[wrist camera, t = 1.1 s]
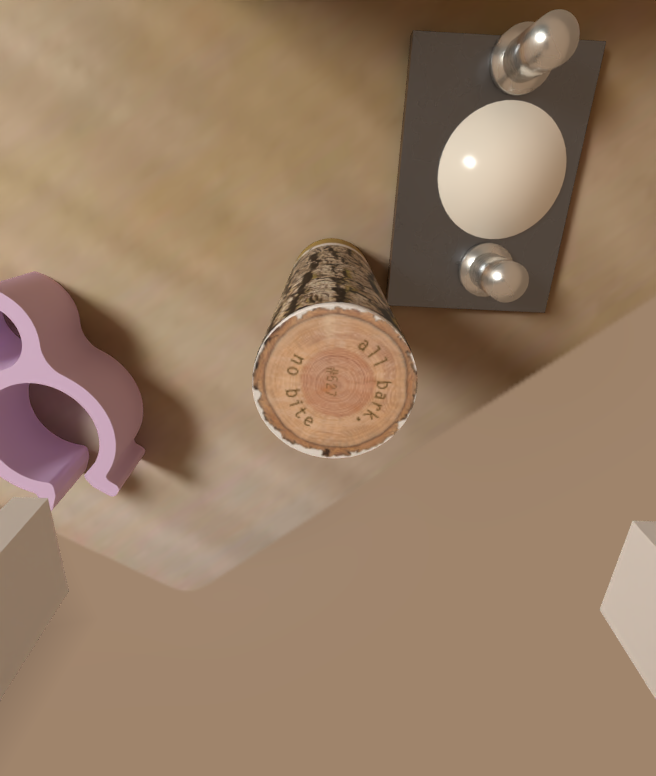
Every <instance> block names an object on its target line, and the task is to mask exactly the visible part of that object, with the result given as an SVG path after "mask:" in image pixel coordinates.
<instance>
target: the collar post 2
mask: <svg viewBox="0 0 656 776" xmlns="http://www.w3.org/2000/svg"><path fill="white" fill-rule="evenodd" d="M579 37H580V29H579V24H578V22H577V20H576V18H575V16H574V15H573V14H572V13H570V12H569V11H567V10H563V9H556V10H552V11H550V12H548V13H546V14H545V15H544V16H542V17H541V18H540V19H538V20H537V21H536V22H522V23H519V24H516V25H514V26H513V27H511V28H510V29H509V30H507V31H506V32H505V33H504V34H503V35H502V36H501V37H500V38H499V39H498V41H497V42H496V44H495V46H494V48H493V50H492V53H491V57H490V64H489V66H490V75H491V78H492V81H493V83H494V84H495V86H496V87H497V88H498V89H499V90H500V91H501V92H503V93H504V94H507V95H510V96H520V95H524V94H527V93H529V92H531V91H533V90H535V89H536V88H538V87H539V86H540V85H541V84H542V83H543V82H544V81H545V80H546V78H547V77H548V75H549V73H550V71H551V70H552V69H554V68H556V67H558V66H560V65H562V64H563V63H565V62H566V61H567V60H569V59H570V57H571V56H572V55H573V53H574V52H575V50H576V48H577V46H578V42H579Z"/></svg>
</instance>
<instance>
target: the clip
mask: <svg viewBox="0 0 656 776" xmlns="http://www.w3.org/2000/svg"><path fill="white" fill-rule="evenodd" d="M3 313H4V314H5V315H6V316H8V317H9V318H10V319H11V321H12V322H13V323H14V324H15V326H16V327H17V329H18V331H19V333H20V336H21V339H20V338H19V337H18V336H16V335H15V334H14V333H13V332H12V331H11V329H10V328H9V327H8V325H7V323H6V321H5V319H4V315H3ZM30 383H36V384H42V385H46V386H50V387H53V388H55V389H58V390H60V391H62V392H64V393H66V394H67V395H69V396H70V397H72V398H73V399H75V400H76V401H77V402H78V403H79V404H80V405H81V406H82V407H83V408H84V409H85V410H86V411H87V412H88V414H89V415H90V417H91V418H92V420H93V422H94V424H95V426H96V428H97V431H98V435H99V444H100V445H99V453H98V457H97V459H96V461H95V463H94V464H93V465H92V466H91V468H90V469H89V470H88V471H87V472H86V474H85V479H86V480H87V481H88V482H89V483H90V484H91V485H92V486H93V487H95V488H96V489H98V490H100V491H102V492H104V493H106V494H107V495H109V496H115V495H117V493H118V492H119V490H120V489H121V487H122V486H123V485H124V483H125V482H126V480H127V479H128V477H129V476H130V474H131V473H132V471H133V470H134V468H135V467H136V465H137V464H138V462H139V461H140V459H141V458H142V457H143V455H144V454H145V449H144V448H143V447H141V446H140V445H138V444H137V443H135V441H134V438H135V436H136V435H137V433H138V431H139V429H140V427H141V424H142V420H143V402H142V397H141V394H140V391H139V389H138V386H137V384H136V382H135V381H134V379H133V378H132V376H131V375H130V373H129V372H128V371H127V370H126V369H125V368H124V367H123V366H122V365H121V364H120V363H119V362H118V361H117V360H116V359H114V358H113V357H111V356H110V355H108V354H107V353H105V352H103V351H101V350H100V349H98V348H96V347H95V346H93V345H92V344H91V343H90V342H89V341H88V339H87V338H86V337H85V335H84V333H83V331H82V328H81V324H80V317H79V313H78V310H77V307H76V305H75V303H74V301H73V299H72V298H71V296H70V295H69V294H68V292H67V291H66V290H65V289H64V288H63V287H62V286H61V285H60V284H59V283H57V282H56V281H55V280H53V279H52V278H50V277H48V276H46V275H44V274H41V273H38V272H30V273H27V274H24V275H20V276H17V277H14V278H10V279H7V280H4V281H0V477H2V478H3V479H5V480H6V481H8V482H10V483H11V484H13V485H15V486H17V487H19V488H22V489H24V490H27V491H30V492H33V493H35V494H37V496H38V498H48V501H49V505H50V510H51V511H52V510H53V508H54V507H55V506H56V505H57V504H58V502H59V501H60V500H61V499H62V498H63V497H64V495H65V494H66V493H67V492H68V491H69V489H70V488H71V487H72V486H73V485H74V483H75V482H76V481H77V480H78V479H79V478H80V476H81V475H82V474H83V473H84V472H85V470H86V469H87V465H88V461H89V452H88V448H87V447H86V446H84V445H79V444H74V443H71V442H68V441H66V440H63V439H61V438H59V437H58V436H56V435H54V434H53V433H52V432H50V431H49V430H48V429H47V428H46V427H45V426H44V425H43V424H42V423H41V422H40V421H39V419H38V418H37V417H36V415H35V413H34V411H33V409H32V407H31V403H30V399H29V384H30Z"/></svg>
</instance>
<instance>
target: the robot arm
mask: <svg viewBox="0 0 656 776" xmlns="http://www.w3.org/2000/svg"><path fill="white" fill-rule="evenodd" d="M68 592H69V589H68V585H67V580H66V576H65V572H64V567H63V563H62V558H61V554H60V549H59V545H58V541H57V536H56V532H55V527H54V523H53V518H52V514H51V510H50V505H49V501H48V498H29V497H12V498H11V499H10V500H9V501H8V503H7V504H6V505H5V506H4V507H3V508H2V509H1V510H0V700H1V698H2V697H3V695H4V694H5V692H6V690H7V689H8V687H9V685H10V684H11V682H12V681H13V679H14V678H15V676H16V675H17V673H18V671H19V670H20V668H21V666H22V665H23V663H24V662H25V660H26V659H27V657H28V655H29V654H30V652H31V651H32V649H33V647H34V646H35V644H36V643H37V641H38V640H39V638H40V636H41V635H42V633H43V632H44V630H45V628H46V627H47V625H48V623H49V622H50V620H51V619H52V617H53V616H54V614H55V612H56V611H57V609H58V608H59V606H60V604H61V603H62V601H63V600H64V598H65V596H66V595H67V593H68ZM600 611H601V613H602V614H603V616H604V617H605V619H606V620H607V622H608V624H609V625H610V627H611V628H612V630H613V631H614V633H615V635H616V636H617V638H618V640H619V641H620V643H621V645H622V646H623V648H624V649H625V651H626V652H627V654H628V656H629V657H630V659H631V660H632V662H633V664H634V665H635V667H636V668H637V670H638V672H639V673H640V675H641V677H642V678H643V680H644V681H645V683H646V684H647V686H648V688H649V689H650V690H651V692H652V694H653V696H654V697H655V699H656V522H653V521H632V524H631V527H630V530H629V532H628V535H627V538H626V540H625V543H624V546H623V548H622V551H621V554H620V557H619V559H618V562H617V565H616V567H615V570H614V573H613V576H612V578H611V581H610V584H609V586H608V589H607V592H606V594H605V597H604V600H603V602H602V605H601V608H600Z"/></svg>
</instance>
